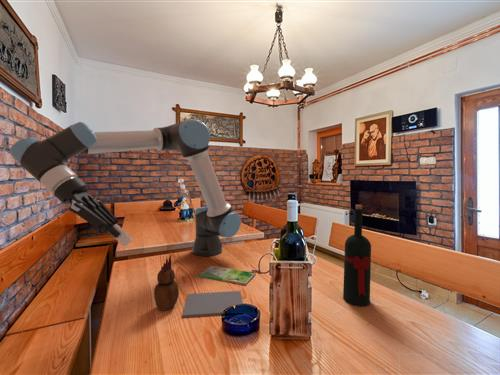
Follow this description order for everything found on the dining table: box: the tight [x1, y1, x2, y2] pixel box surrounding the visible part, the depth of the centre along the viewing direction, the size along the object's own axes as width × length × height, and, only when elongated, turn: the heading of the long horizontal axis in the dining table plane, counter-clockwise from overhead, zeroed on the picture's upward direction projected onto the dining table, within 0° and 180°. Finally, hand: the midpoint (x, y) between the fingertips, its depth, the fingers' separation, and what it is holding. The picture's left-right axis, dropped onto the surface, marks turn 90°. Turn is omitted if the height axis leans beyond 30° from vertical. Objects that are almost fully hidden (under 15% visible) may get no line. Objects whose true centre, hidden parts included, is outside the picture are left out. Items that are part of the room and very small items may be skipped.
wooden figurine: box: [153, 254, 180, 311], centre depth 72 cm, size 7×6×15 cm
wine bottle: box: [342, 204, 372, 307], centre depth 74 cm, size 8×10×30 cm
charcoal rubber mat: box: [182, 290, 244, 318], centre depth 74 cm, size 17×12×1 cm
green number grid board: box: [198, 265, 257, 287], centre depth 94 cm, size 20×1×10 cm
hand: (128, 242), depth 71 cm, fingers closed
